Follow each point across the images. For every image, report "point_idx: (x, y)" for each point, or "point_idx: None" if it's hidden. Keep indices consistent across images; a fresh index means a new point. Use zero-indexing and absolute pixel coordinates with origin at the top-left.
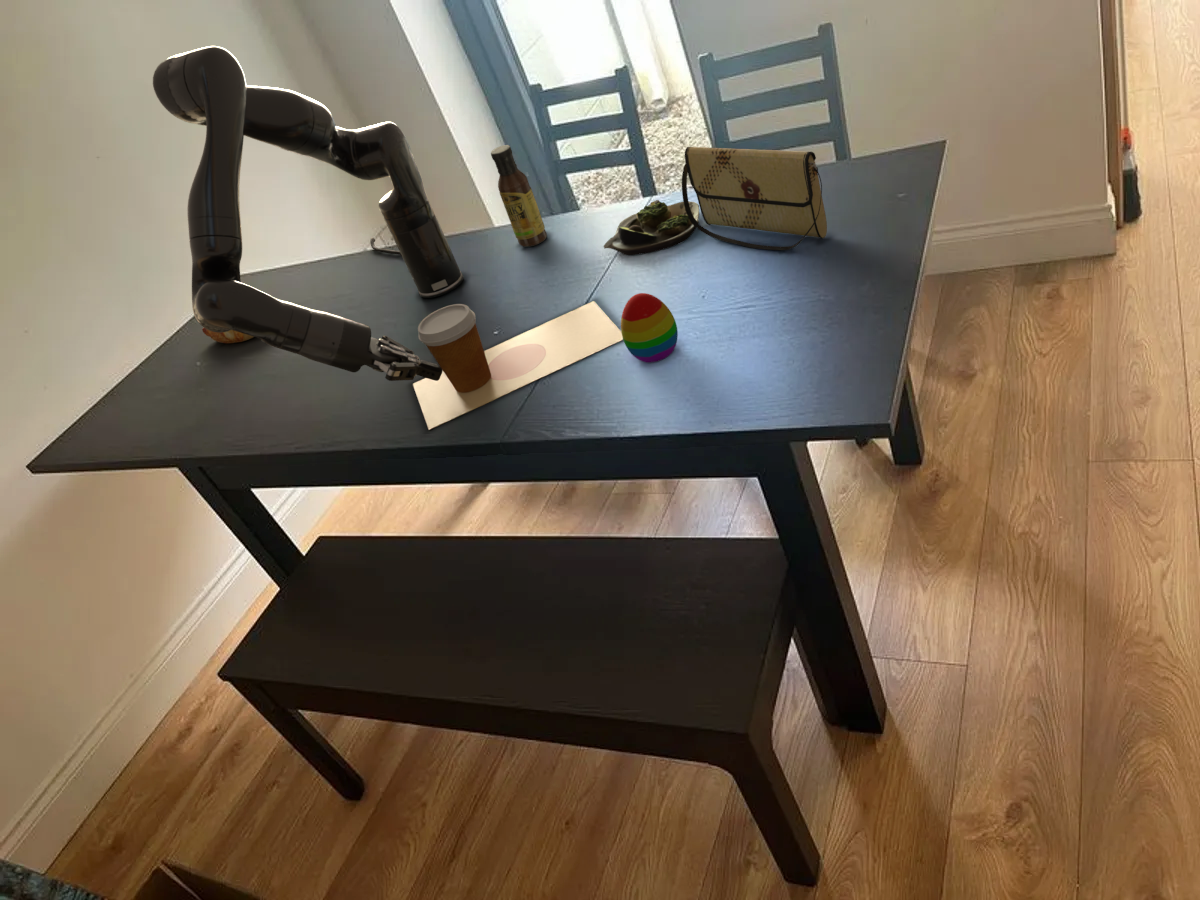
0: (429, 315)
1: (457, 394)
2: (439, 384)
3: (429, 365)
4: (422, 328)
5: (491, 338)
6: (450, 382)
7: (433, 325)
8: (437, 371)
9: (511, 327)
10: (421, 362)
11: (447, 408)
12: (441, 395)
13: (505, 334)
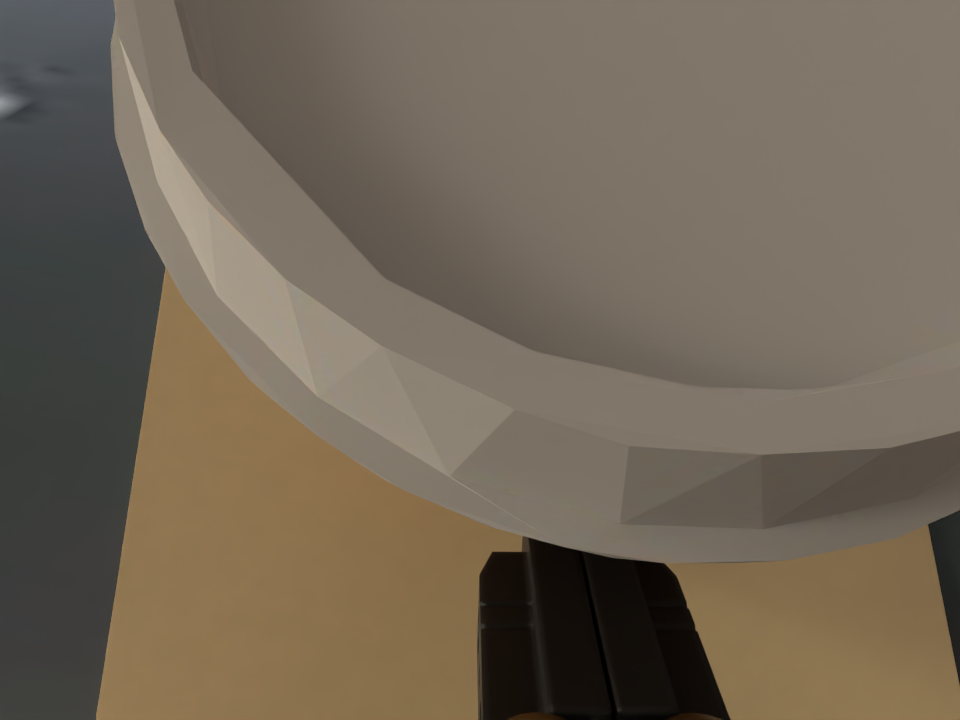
0: (187, 67)
1: None
2: (333, 626)
3: (648, 621)
4: (626, 355)
5: (39, 145)
6: (389, 535)
7: (707, 121)
8: (661, 569)
9: (42, 18)
10: (672, 710)
11: (769, 640)
12: None
13: (91, 66)
